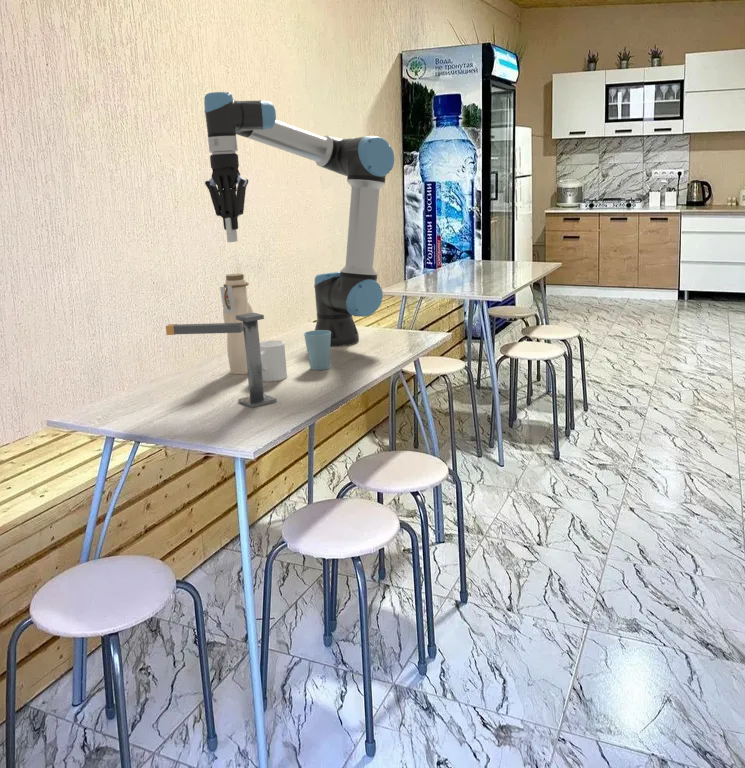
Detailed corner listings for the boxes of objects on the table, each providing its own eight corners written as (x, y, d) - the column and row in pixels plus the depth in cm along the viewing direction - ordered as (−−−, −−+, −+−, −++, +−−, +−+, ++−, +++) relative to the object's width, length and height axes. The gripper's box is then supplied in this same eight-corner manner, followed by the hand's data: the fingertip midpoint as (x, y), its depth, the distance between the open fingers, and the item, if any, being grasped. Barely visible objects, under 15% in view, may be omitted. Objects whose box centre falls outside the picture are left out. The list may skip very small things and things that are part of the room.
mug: (248, 385, 212) (244, 350, 210) (264, 374, 224) (261, 340, 221) (276, 385, 211) (273, 350, 208) (290, 374, 222) (288, 340, 219)
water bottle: (252, 376, 222) (242, 277, 214) (222, 376, 224) (212, 277, 216) (264, 367, 232) (255, 272, 224) (235, 367, 233) (225, 272, 226)
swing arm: (243, 330, 193) (242, 322, 193) (240, 333, 191) (239, 324, 190) (170, 332, 196) (169, 324, 195) (166, 335, 193) (165, 326, 193)
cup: (304, 371, 224) (301, 335, 222) (309, 364, 232) (307, 330, 229) (330, 371, 223) (328, 335, 221) (334, 364, 231) (332, 329, 228)
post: (263, 396, 201) (255, 311, 195) (276, 401, 196) (269, 314, 190) (238, 402, 197) (230, 315, 191) (251, 407, 192) (243, 319, 186)
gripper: (195, 154, 211) (205, 243, 218) (235, 152, 206) (244, 243, 212) (212, 154, 218) (221, 240, 224) (251, 151, 212) (259, 240, 219)
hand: (232, 241), depth 218 cm, fingers closed
